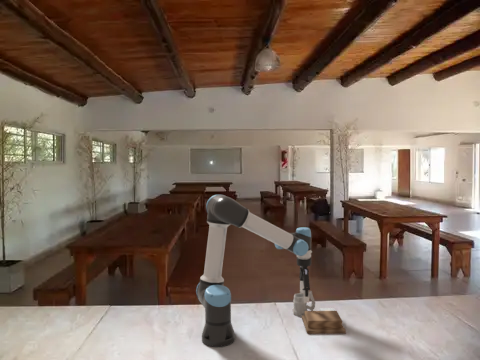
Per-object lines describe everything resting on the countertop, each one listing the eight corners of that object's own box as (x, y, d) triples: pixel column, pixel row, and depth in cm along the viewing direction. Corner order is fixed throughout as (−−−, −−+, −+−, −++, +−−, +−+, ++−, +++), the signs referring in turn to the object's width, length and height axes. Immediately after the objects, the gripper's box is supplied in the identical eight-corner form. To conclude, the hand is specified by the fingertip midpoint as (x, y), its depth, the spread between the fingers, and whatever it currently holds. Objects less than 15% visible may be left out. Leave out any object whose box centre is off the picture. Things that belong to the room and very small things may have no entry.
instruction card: (322, 316, 213) (322, 316, 213) (318, 308, 224) (318, 308, 224) (338, 316, 213) (338, 316, 213) (333, 308, 224) (333, 307, 224)
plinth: (307, 333, 194) (307, 323, 193) (301, 318, 212) (301, 308, 211) (345, 333, 194) (345, 323, 193) (337, 318, 212) (337, 308, 211)
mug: (291, 311, 221) (291, 289, 220) (313, 310, 222) (313, 288, 221) (294, 316, 214) (293, 294, 213) (316, 316, 214) (316, 293, 213)
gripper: (315, 264, 203) (315, 306, 205) (307, 251, 228) (308, 289, 230) (299, 264, 203) (300, 306, 205) (293, 251, 228) (294, 289, 230)
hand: (304, 297), depth 217 cm, fingers open, 13 cm apart
